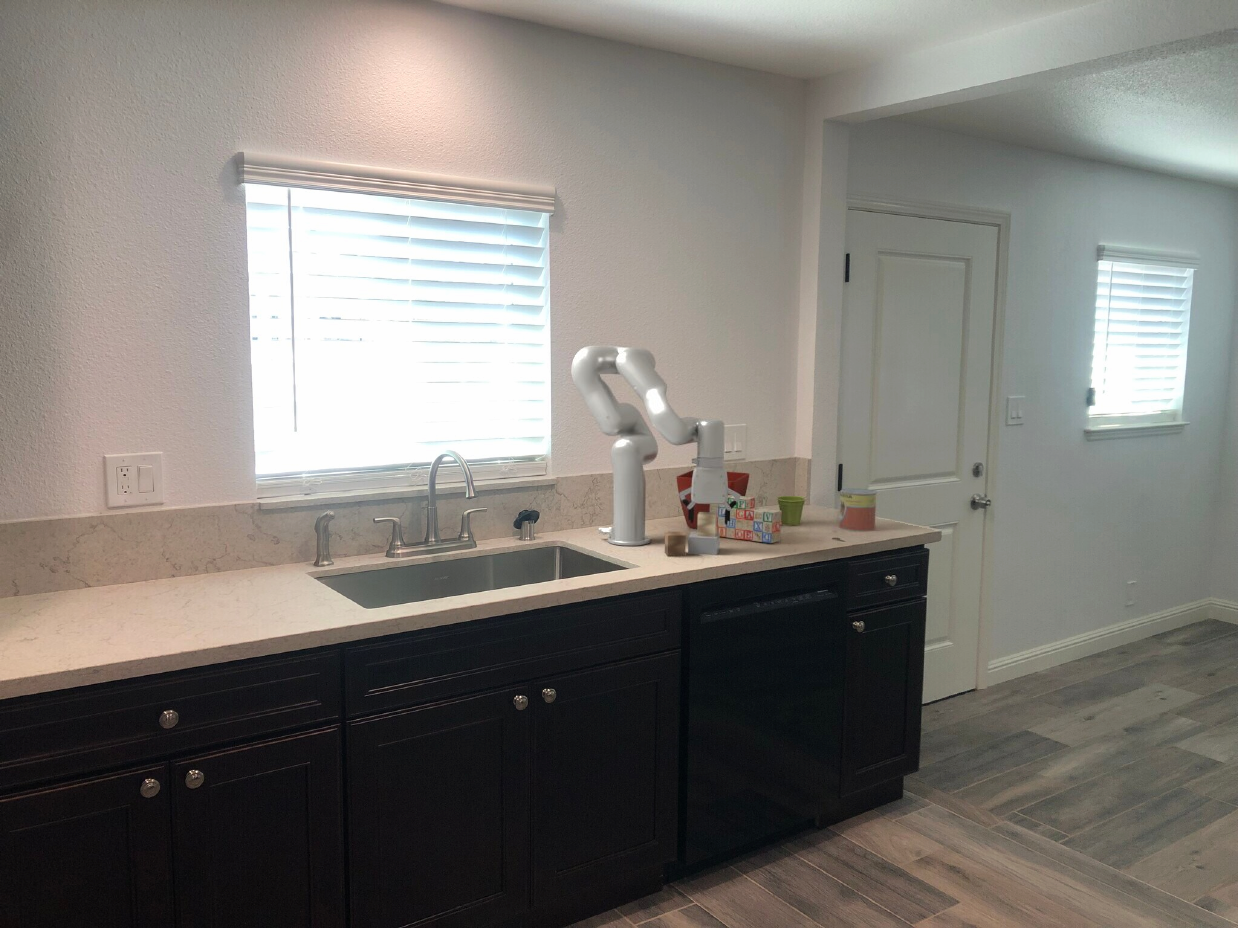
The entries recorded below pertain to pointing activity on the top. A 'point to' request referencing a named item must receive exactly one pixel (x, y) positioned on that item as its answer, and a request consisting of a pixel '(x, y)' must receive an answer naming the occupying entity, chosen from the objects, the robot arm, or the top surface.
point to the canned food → (857, 510)
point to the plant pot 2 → (791, 509)
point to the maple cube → (707, 524)
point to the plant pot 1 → (735, 483)
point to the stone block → (703, 544)
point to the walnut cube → (675, 544)
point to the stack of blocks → (748, 521)
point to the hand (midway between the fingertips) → (709, 522)
